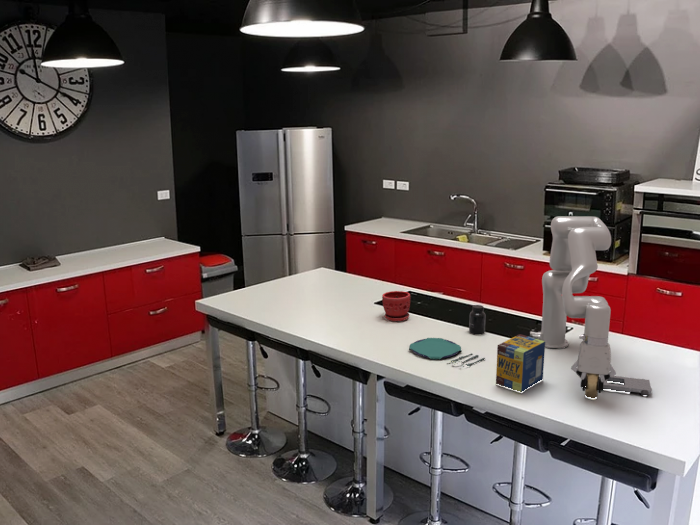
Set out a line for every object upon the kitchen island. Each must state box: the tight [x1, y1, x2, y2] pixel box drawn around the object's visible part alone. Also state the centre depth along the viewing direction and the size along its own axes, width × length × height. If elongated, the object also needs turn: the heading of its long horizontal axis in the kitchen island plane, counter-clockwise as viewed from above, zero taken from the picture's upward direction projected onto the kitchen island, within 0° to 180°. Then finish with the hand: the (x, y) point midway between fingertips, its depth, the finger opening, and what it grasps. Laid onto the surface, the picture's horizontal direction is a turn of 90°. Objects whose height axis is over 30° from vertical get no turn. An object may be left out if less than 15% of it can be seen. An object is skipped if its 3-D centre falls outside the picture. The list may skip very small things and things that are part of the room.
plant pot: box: [381, 290, 411, 322], centre depth 293 cm, size 13×13×12 cm
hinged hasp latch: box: [585, 373, 652, 396], centre depth 219 cm, size 22×10×2 cm, turn 69°
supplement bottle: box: [468, 304, 487, 335], centre depth 274 cm, size 7×7×12 cm
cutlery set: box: [408, 337, 486, 367], centre depth 251 cm, size 20×30×2 cm, turn 38°
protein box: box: [495, 333, 546, 392], centre depth 223 cm, size 10×15×16 cm
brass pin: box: [584, 373, 600, 398], centre depth 211 cm, size 4×4×10 cm
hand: (591, 389), depth 212 cm, fingers open, 4 cm apart
